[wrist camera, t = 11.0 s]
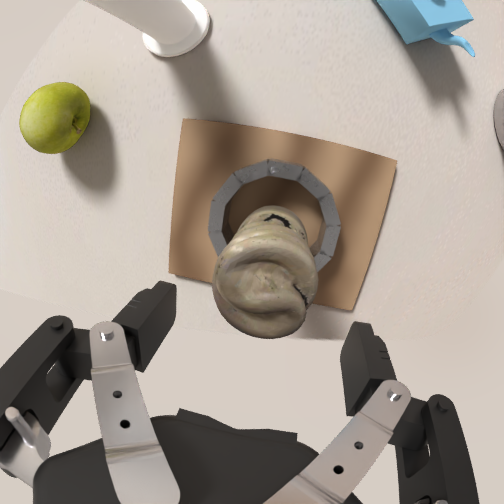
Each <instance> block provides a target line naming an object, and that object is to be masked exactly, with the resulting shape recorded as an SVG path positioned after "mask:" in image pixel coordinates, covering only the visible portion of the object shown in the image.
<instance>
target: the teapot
mask: <svg viewBox="0 0 504 504" xmlns="http://www.w3.org/2000/svg"><path fill="white" fill-rule="evenodd" d="M376 1H377V3H378V4H379V5H380V6H381V8H382V9H383V10H384V12H385V13H386V14H387V16H388V17H389V19H390V20H391V22H392V23H393V24H394V26H395V27H396V29H397V31H398V32H399V33H400V35H401V37H402V38H403V40H404V41H405V43H406V44H410V43H413V42H417V41H421V40H425V39H429V38H432V39H434V40H435V41H436V42H438V43H441V44H445V45H458V46H461V47H462V48H464V49H465V50H466V51H467V52H468V53H469V54H470V55H471V56H473V57H475V53H474V50H473V48H472V47H471V45H470V44H469V43H468V41H466V40H465V39H464V38H462V37H460V36H454V35H452V34H451V32H452V31H454V30H456V29H458V28H460V27H461V26H463V25H465V24H467V23H469V22H470V21H472V20H474V19H473V17H472V16H471V14H470V12H469V11H468V9H467V8H466V6H465V5H464V3H463V2H462V0H376Z"/></svg>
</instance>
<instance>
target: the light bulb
mask: <svg viewBox="0 0 504 504" xmlns="http://www.w3.org/2000/svg"><path fill="white" fill-rule="evenodd" d="M318 281H319V279H318V273H317V270H316V263H315V260H314V257H313V255H312V253H311V251H310V249H309V246H308V239H307V233H306V230H305V228H304V225H303V223H302V222H301V220H300V219H299V217H298V216H297V215H296V214H295V213H294V212H292V211H290V210H289V209H287V208H284V207H281V206H264V207H261V208H259V209H257V210H255V211H254V212H252V213H251V214H250V215H249V216H248V217H247V218H246V219H245V220H244V222H243V223H242V224H241V226H240V227H239V229H238V231H237V233H236V234H235V236H234V237H233V239H232V240H231V241H230V243H229V244H228V245H227V246H226V247H225V248H224V250H223V251H222V252H221V254H220V255H219V257H218V259H217V261H216V264H215V268H214V272H213V277H212V289H213V295H214V299H215V302H216V304H217V307H218V309H219V311H220V313H221V315H222V316H223V317H224V318H225V319H226V321H227V322H228V323H229V324H231V325H232V326H233V327H234V328H236V329H237V330H239V331H241V332H243V333H245V334H247V335H250V336H253V337H257V338H263V339H275V338H281V337H285V336H288V335H290V334H293V333H294V332H296V331H297V330H298V329H299V328H300V327H301V325H302V324H303V322H304V321H305V316H306V310H307V309H308V307H309V306H310V305H311V304H312V303H313V301H314V299H315V296H316V293H317V289H318Z"/></svg>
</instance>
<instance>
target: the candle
mask: <svg viewBox="0 0 504 504" xmlns="http://www.w3.org/2000/svg"><path fill="white" fill-rule="evenodd" d="M84 1H86V2H88V3H90V4H93V5H95V6H97V7H99V8H100V9H102V10H104V11H106V12H108V13H110V14H112V15H114V16H116V17H118V18H119V19H121V20H123V21H125V22H127V23H128V24H130V25H132V26H134V27H135V28H137V29H139V30H140V31H142V32H143V41H144V44H145V46H146V47H147V48H148V50H150V51H151V52H152V53H154V54H156V55H159V56H162V57H174V56H179V55H182V54H184V53H187V52H189V51H190V50H192V49H193V48H195V47H196V46H197V45H198V44H199V43H200V42H201V41H202V40H203V39H204V37H205V36H206V34H207V32H208V29H209V25H210V17H209V14H208V11H207V10H206V8H205V7H204V6H203V5H202V4H201V3H199V2H197V1H195V0H84Z"/></svg>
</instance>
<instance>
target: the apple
mask: <svg viewBox="0 0 504 504" xmlns="http://www.w3.org/2000/svg"><path fill="white" fill-rule="evenodd" d="M89 119H90V101H89V98H88V96H87V94H86V93H85V92H84V91H83V90H82V89H81V88H79V87H78V86H76V85H74V84H71V83H67V82H58V83H53V84H49V85H46V86H43V87H41V88H39V89H38V90H36V91H35V92H34V93H33V94H32V95H31V96H30V97H29V98H28V100H27V101H26V102H25V104H24V106H23V108H22V111H21V115H20V122H19V125H20V130H21V133H22V135H23V137H24V139H25V140H26V142H27V143H28V144H29V145H30V146H31V147H32V148H33V149H35V150H37V151H39V152H42V153H47V154H57V153H61V152H64V151H66V150H68V149H69V148H71V147H72V146H73V145H74V144H75V143H76V142H77V141H78V139H79V138H80V136H81V135H82V134H83V132H84V131H85V129H86V127H87V125H88V122H89Z"/></svg>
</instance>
